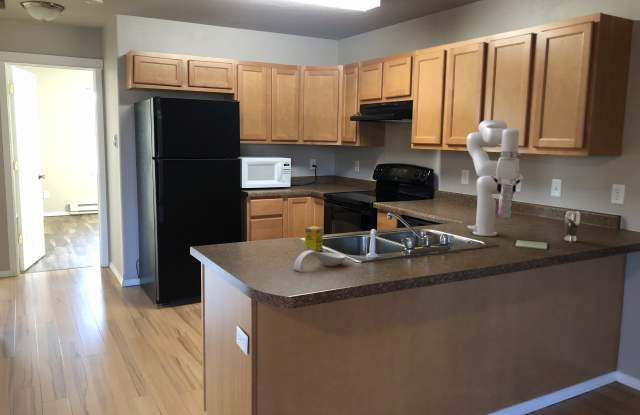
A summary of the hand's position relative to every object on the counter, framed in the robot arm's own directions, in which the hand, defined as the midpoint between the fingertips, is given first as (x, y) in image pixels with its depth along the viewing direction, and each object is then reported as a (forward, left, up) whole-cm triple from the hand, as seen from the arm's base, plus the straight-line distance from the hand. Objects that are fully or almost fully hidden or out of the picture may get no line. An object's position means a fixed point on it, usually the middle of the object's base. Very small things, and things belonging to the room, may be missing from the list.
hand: (506, 192), depth 247 cm
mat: (+13, +5, -26) cm, 29 cm away
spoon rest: (-62, -81, -26) cm, 105 cm away
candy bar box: (0, 0, -12) cm, 12 cm away
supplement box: (-75, -59, -26) cm, 99 cm away
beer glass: (+31, +27, -26) cm, 49 cm away
